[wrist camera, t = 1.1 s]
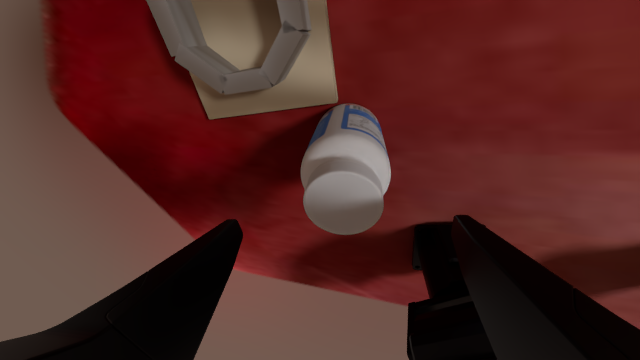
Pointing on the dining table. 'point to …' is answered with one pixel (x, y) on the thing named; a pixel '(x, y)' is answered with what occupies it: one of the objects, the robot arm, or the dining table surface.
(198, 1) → the collar
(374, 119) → the pill bottle
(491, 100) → the dining table surface
